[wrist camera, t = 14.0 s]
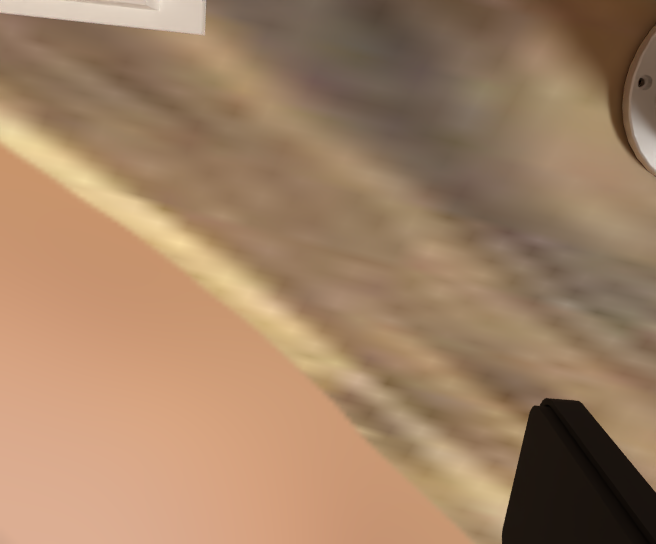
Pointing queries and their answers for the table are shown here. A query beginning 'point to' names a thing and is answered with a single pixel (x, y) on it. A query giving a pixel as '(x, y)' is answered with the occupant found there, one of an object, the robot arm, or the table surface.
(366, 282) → the table surface
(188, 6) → the socket stand
